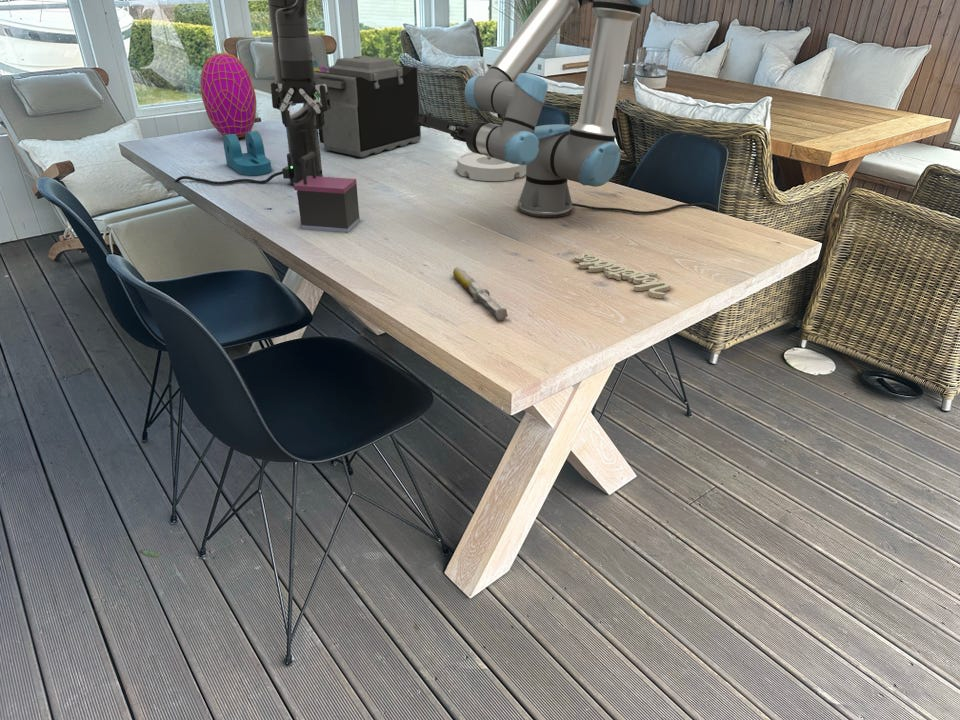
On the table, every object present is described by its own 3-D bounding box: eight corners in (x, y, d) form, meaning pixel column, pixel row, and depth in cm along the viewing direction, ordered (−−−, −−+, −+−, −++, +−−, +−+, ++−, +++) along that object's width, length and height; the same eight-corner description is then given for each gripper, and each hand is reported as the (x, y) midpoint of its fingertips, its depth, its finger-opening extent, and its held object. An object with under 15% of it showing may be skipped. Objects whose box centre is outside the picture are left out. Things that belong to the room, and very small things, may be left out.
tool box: (383, 133, 276) (378, 52, 261) (425, 141, 265) (422, 56, 250) (314, 150, 251) (304, 61, 235) (358, 160, 240) (350, 67, 224)
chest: (301, 228, 180) (296, 190, 175) (315, 217, 188) (311, 180, 183) (347, 232, 178) (344, 194, 173) (359, 220, 186) (356, 183, 181)
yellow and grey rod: (449, 274, 155) (449, 263, 153) (465, 272, 156) (464, 260, 154) (490, 323, 135) (491, 310, 133) (508, 319, 136) (508, 307, 134)
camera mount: (227, 164, 233) (221, 132, 227) (257, 160, 238) (252, 129, 233) (244, 176, 220) (239, 143, 215) (276, 172, 225) (271, 139, 220)
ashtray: (459, 161, 239) (459, 150, 237) (525, 163, 239) (526, 151, 237) (455, 180, 219) (455, 167, 217) (527, 181, 219) (528, 169, 217)
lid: (294, 190, 175) (290, 158, 171) (308, 180, 183) (305, 149, 179) (344, 193, 173) (341, 161, 169) (356, 183, 181) (354, 152, 176)
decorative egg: (226, 145, 255) (211, 58, 240) (200, 137, 266) (184, 53, 251) (271, 137, 268) (259, 54, 252) (244, 129, 279) (231, 49, 263)
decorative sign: (686, 282, 150) (660, 295, 144) (686, 286, 150) (659, 300, 144) (592, 249, 166) (565, 259, 160) (592, 253, 167) (565, 263, 161)
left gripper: (260, 58, 161) (270, 129, 169) (318, 60, 158) (325, 132, 167) (275, 54, 167) (283, 123, 175) (330, 56, 165) (336, 126, 173)
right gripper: (442, 140, 158) (393, 126, 173) (517, 167, 175) (466, 153, 190) (452, 107, 156) (402, 96, 171) (526, 138, 174) (475, 126, 188)
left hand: (304, 127), depth 171 cm, fingers open, 8 cm apart
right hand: (436, 126), depth 181 cm, fingers open, 13 cm apart
